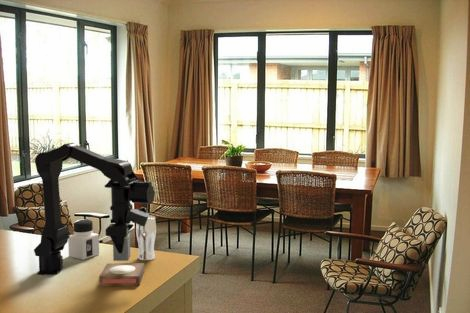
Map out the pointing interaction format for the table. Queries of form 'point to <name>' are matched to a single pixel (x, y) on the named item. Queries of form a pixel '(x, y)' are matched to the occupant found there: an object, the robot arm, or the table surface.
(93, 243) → the container
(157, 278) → the table surface
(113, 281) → the walnut step
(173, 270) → the table surface
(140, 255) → the beer glass
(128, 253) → the metal column
